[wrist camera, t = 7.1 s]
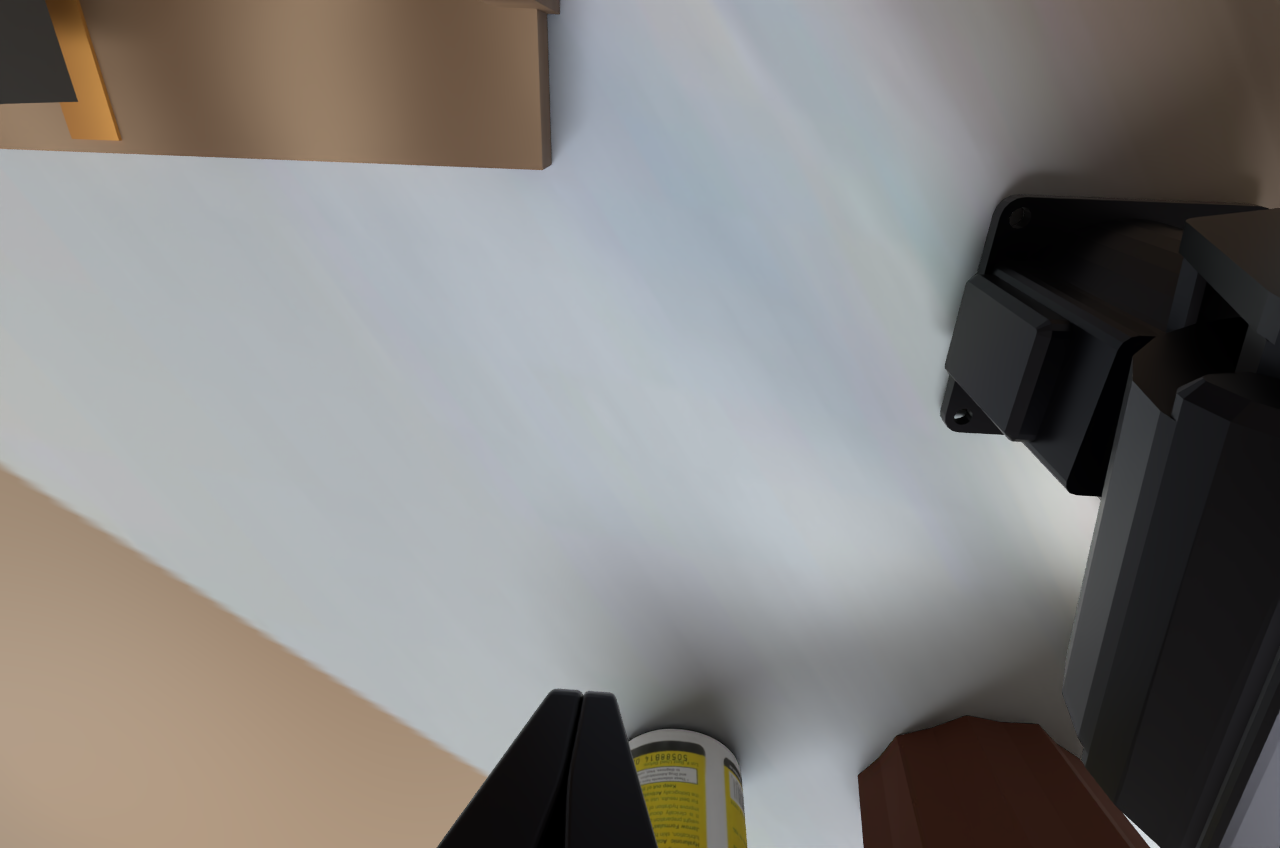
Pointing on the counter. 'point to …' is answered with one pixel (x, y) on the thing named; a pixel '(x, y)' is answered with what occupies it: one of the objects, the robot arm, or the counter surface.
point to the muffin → (986, 792)
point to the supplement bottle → (690, 789)
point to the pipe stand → (300, 81)
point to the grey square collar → (31, 56)
